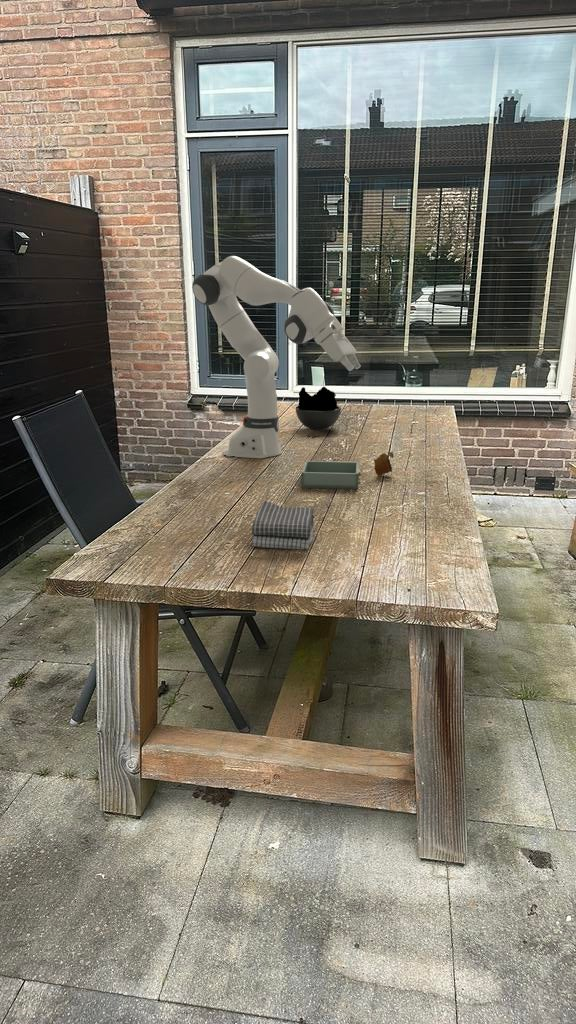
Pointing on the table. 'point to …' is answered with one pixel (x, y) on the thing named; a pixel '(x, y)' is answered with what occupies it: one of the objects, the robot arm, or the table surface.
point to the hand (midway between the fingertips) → (355, 368)
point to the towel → (283, 527)
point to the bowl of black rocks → (318, 409)
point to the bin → (330, 475)
